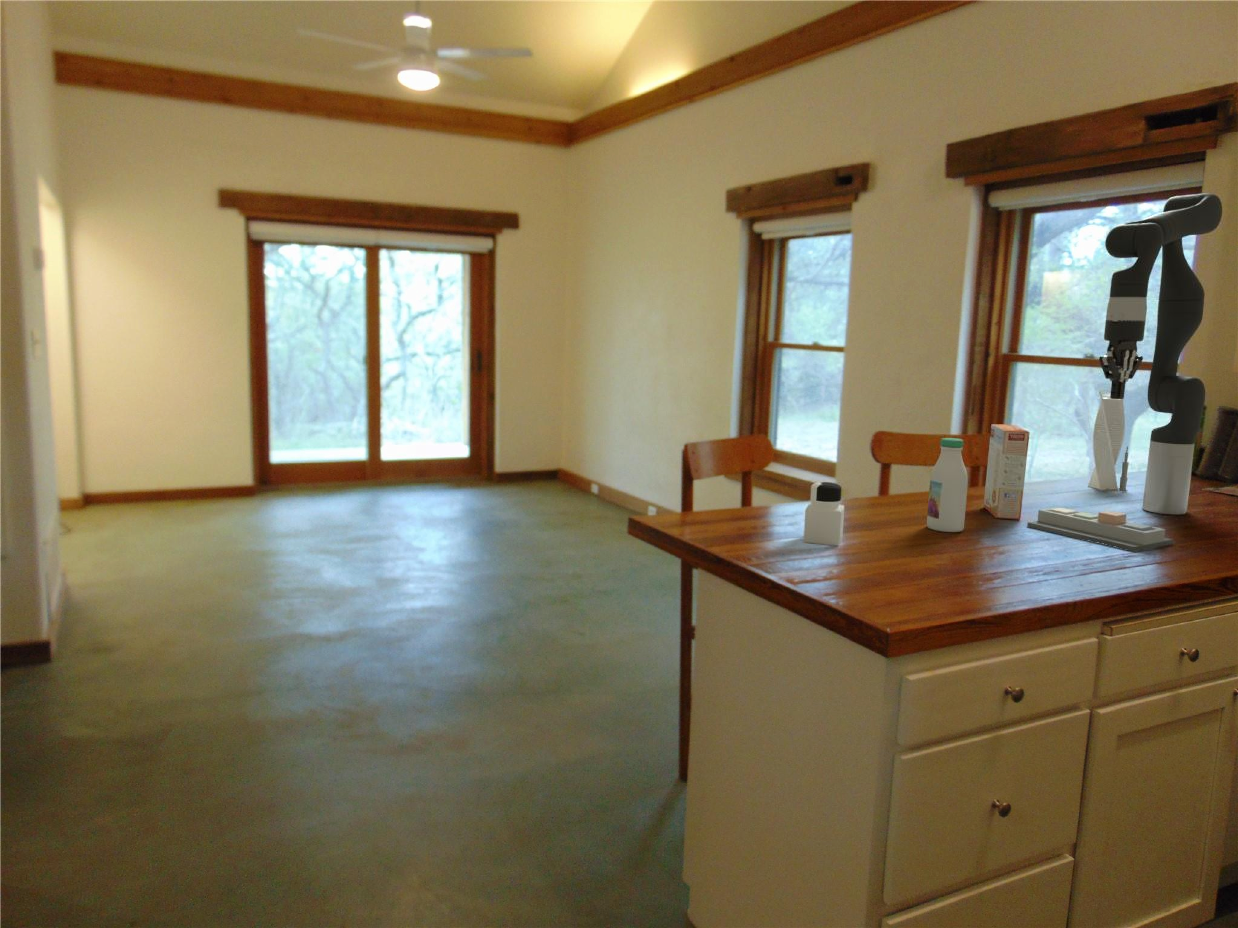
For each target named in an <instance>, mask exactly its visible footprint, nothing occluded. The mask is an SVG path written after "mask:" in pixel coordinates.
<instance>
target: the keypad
mask: <svg viewBox="0 0 1238 928" xmlns="http://www.w3.org/2000/svg"><path fill="white" fill-rule="evenodd" d="M1056 508H1060V507H1058V506H1057V507H1050V508H1043V509H1042V508H1041V509H1038V512H1037V513H1038V514H1037V520H1034V521H1027V525H1026V526H1027V527H1028V528H1032V529H1035V528H1036V530H1039V529H1041V530H1040V531H1044V532H1048V531H1049V532H1048V533H1052V532H1054V533H1053V534H1056V533H1057V534H1056V535H1061V534H1062V535H1061V536H1065V535H1067V536H1066V537H1070V538H1073V537H1074V538H1075V539H1078V538H1080V539H1079V540H1082V539H1084V540H1083V541H1086V540H1090V541H1089V542H1091V541H1093V542H1092V543H1095V542H1099V543H1104V544H1107V545H1106V546H1108V545H1111V546H1110V547H1112V546H1116V547H1118V548H1117V549H1120V548H1122V549H1121V550H1125V549H1127V550H1126V551H1130V552H1134V553H1135V552H1139V551H1144V549H1145V550H1150V549H1155V548H1158V547H1159V548H1160V547H1164V546H1169V545H1174V539H1173V538H1168V537H1165V536H1166V529H1165V528H1159V527H1154V526H1152V530H1149V531H1140V530H1135V529H1130V528H1126V527H1123V524H1120V525H1111V524H1107V523H1102V522H1098V519H1093V520H1088V519H1083V518H1079V517H1074V514H1068V515H1064V514H1060V513H1055V512H1050V511H1051V509H1056ZM1076 511H1077V513H1084V512H1083V511H1082V512H1081V511H1078V510H1076ZM1077 513H1075V514H1077ZM1129 523H1133V521H1132V522H1131V521H1127V520H1126V524H1129ZM1074 538H1073V539H1074ZM1099 543H1098V544H1099ZM1116 547H1115V548H1116Z"/></svg>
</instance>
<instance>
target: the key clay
mask: <svg viewBox="0 0 1238 928" xmlns="http://www.w3.org/2000/svg"><path fill="white" fill-rule="evenodd" d="M1097 515H1098V522H1102V523H1107V524H1111V525H1120V524H1126V521H1127V513H1124V512H1117V511H1112V510H1105V511H1099V512H1098V514H1097Z"/></svg>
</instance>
